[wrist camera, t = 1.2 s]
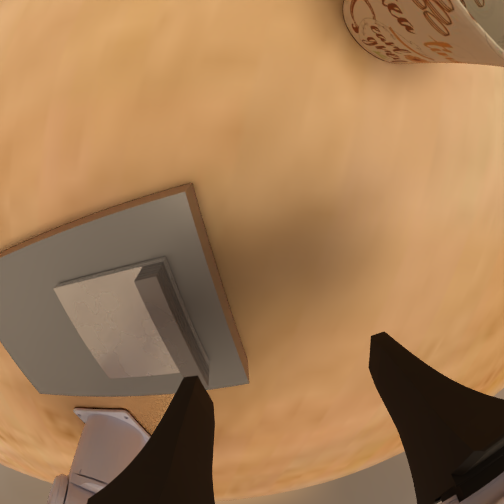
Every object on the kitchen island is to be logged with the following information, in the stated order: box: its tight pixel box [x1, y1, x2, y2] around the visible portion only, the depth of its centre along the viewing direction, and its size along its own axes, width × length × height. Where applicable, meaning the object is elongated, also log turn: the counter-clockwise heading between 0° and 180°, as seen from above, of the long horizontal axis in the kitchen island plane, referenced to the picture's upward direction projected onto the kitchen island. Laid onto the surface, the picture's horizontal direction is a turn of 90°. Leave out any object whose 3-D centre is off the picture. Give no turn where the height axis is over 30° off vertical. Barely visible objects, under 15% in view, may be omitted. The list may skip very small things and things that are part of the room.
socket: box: [0, 183, 249, 396], centre depth 18 cm, size 14×22×2 cm, turn 102°
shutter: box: [53, 256, 210, 388], centre depth 15 cm, size 8×8×2 cm
